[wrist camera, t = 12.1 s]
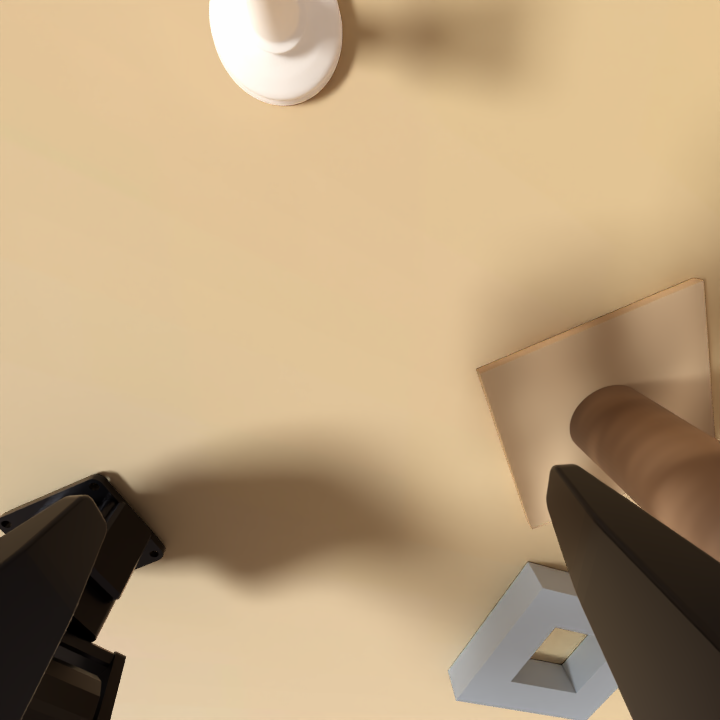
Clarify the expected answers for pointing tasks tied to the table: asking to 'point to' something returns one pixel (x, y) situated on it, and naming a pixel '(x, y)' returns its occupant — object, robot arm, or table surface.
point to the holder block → (520, 641)
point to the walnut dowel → (654, 460)
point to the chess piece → (278, 46)
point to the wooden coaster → (598, 383)
